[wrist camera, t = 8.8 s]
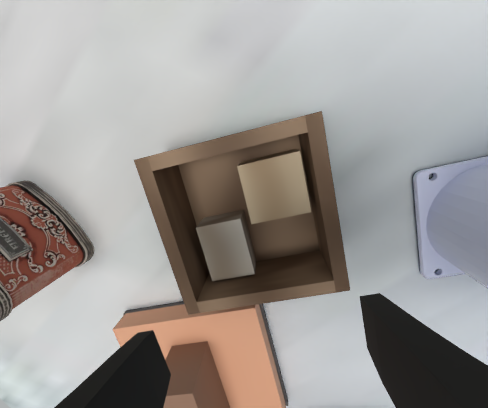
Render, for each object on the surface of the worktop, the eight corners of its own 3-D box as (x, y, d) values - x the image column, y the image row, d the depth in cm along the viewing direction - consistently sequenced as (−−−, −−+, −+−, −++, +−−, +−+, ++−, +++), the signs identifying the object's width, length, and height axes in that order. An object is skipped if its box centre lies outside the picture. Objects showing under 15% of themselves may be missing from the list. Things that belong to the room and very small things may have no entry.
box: (306, 118, 16) (321, 111, 12) (330, 254, 18) (350, 290, 14) (166, 154, 17) (133, 160, 13) (205, 276, 20) (188, 314, 16)
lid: (255, 292, 19) (251, 355, 14) (285, 402, 22) (291, 491, 17) (125, 313, 21) (74, 376, 16) (167, 412, 24) (137, 497, 18)
